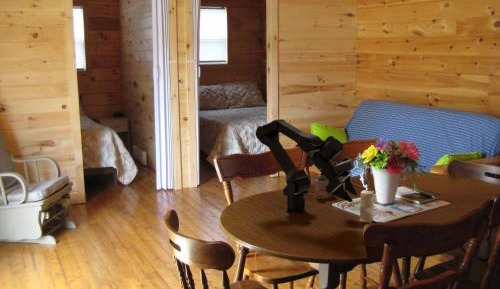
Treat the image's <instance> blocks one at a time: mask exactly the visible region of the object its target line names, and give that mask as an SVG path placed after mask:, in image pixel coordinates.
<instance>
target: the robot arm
mask: <svg viewBox="0 0 500 289" xmlns="http://www.w3.org/2000/svg"><path fill="white" fill-rule="evenodd" d="M255 129H256V130H255V136H256V139H257V140H258V141H259V142H260V144H262V145H264V146H265V147H266V148H268V149H269V151H270V152H271V154H272V155H273V157H274V159H275V160H276V162H277V163H278V165H279V166H280V169H281V170H282V171H283V173H284V175H285V183H286V186H285V187H284V188H283V189H282V194H283V195H284V196H286V197H287V198H286V212H288V213H289V212H292V213H304V210H306V197H305V195H307V194H309V190H310V188H311V180H310V175H308V173H307V172H306V170H305V169H304V168H303V169H298V167H297V166H296V165H295V163H294V162H293V160H292V159H291V157H290V155H289V153H287V151H286V149H285V148H284V146H283V145H282V143H281V142H280V138H279V137H280V134H279V133H281V134H282V135H284V136H285V137H287V138H288V139H290V140H292V141H293V142H294V143H295V144H296V145H297V147H298V148H299V149H300V150H301V151H302V152H304V153H305V154H308V153H312V152H313V153H312V154H308V155H307V156H306V158H305V159H306V161H305V163H306V165H309V164H310V163H312V164H313V165H314V166H315V168H316V170H318V171H319V172H320V173H319V175H321V176H322V175H324V177H325V178H326V179H327V180H328V181H329V182H328V184H327V185H326V186H325V190H326V192H327V193H328V194H330V193H331V192H332V191H333V192H332V193H331V195H332V196H336V197H338V198H339V199H342V200H344V201H346V202H349V203H352V202H354V200H353V198H352V197H351V195H353V196H354V197H355V196H356V197H357V195H358V194H359V193H358V191H357V190H356V188H355V185H354V183H353V181H352V175H353V174H352V171H351V170H354V168H355V164H354V160H353V159H352V158H349V157H348V156H346V157H344V158H343V159H342V162H339V163H338V162H336V161H332V160H334V158H335V157H337V156H338V155H339V154H340V153H341V152H342V151H343V150H344V145H343V143H342V141H340V140H339V139H337V138H335V136H333V135H329V136H328V137H326V139H325V140H323V139H322V138H321V137H320V136H319V135H316V134H314V133H307V132H304V131H302V130H300V129H299V128H297V127H296V126H293V125H292V124H290V123H289V122H287V121H286V120H285V119H282V118H279V119H274V120H272V121H271V122H268V123H265V124H263V125H257V127H256V128H255ZM349 193H350V194H351V195H350V194H349Z"/></svg>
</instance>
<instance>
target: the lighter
mask: <svg viewBox="0 0 500 289" xmlns="http://www.w3.org/2000/svg"><path fill="white" fill-rule="evenodd" d="M328 182H329V181H328V180H327V179H326V178H325V177H324V175H322V176H321V175H320V174H319V175H317V179H315V180H314V183H315V184H314V188H315V189H314V191H315V192H314V199H318V200H319V199H321V200H322V199H323V200H324V199H330V198H331V197H332V196H333V195H331V193H332V192H333V191H332V192H331V193H330V194H328V193H327V192H326V190H325V186H326V185H327V184H328Z"/></svg>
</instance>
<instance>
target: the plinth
mask: <svg viewBox="0 0 500 289" xmlns="http://www.w3.org/2000/svg"><path fill="white" fill-rule="evenodd" d="M382 213H383V210H381V209H380V210H378V209H373V216H382Z"/></svg>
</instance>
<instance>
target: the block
mask: <svg viewBox="0 0 500 289" xmlns="http://www.w3.org/2000/svg"><path fill="white" fill-rule="evenodd" d="M374 194H375V191H374V190H373V191H372V190H364V189H363V190H362V191H361V192H360V205H359V222H360V223H361V222H362V223H370V224H371V223H372V222H373V219H374V215H373V210H374V201H375V196H374Z"/></svg>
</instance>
